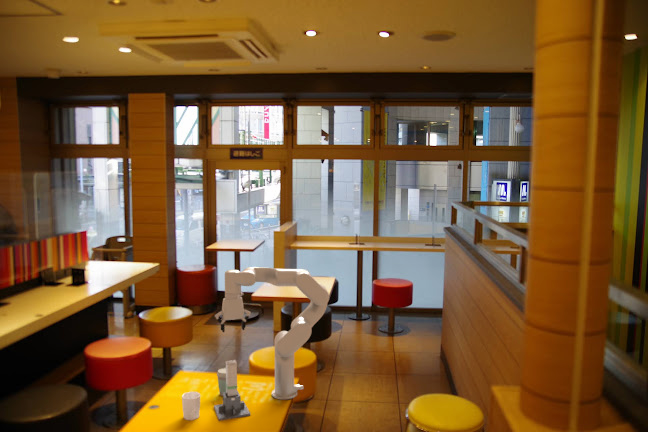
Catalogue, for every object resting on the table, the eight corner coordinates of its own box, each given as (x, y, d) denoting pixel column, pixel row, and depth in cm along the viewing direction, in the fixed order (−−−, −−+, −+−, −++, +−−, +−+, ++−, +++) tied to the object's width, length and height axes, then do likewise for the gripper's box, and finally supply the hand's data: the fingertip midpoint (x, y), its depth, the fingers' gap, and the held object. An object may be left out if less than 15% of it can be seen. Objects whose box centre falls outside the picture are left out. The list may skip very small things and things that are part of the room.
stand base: (243, 402, 247) (243, 386, 246) (250, 415, 234) (250, 398, 233) (213, 407, 242) (213, 390, 241) (219, 420, 229) (218, 403, 228)
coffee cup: (230, 398, 251) (230, 374, 251) (214, 396, 253) (213, 372, 252) (237, 391, 260) (236, 367, 259) (221, 389, 262) (220, 366, 261)
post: (235, 393, 240) (235, 359, 239) (237, 397, 236) (237, 363, 234) (225, 395, 238) (225, 361, 237) (227, 399, 234) (227, 364, 233)
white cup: (193, 411, 238) (193, 390, 237) (204, 416, 233) (203, 394, 232) (178, 417, 232) (178, 395, 231) (189, 422, 227) (189, 400, 226)
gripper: (248, 292, 256) (249, 326, 257) (213, 295, 249) (213, 330, 251) (252, 295, 249) (252, 330, 250) (216, 298, 242) (216, 334, 244)
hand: (233, 330), depth 250 cm, fingers open, 9 cm apart
